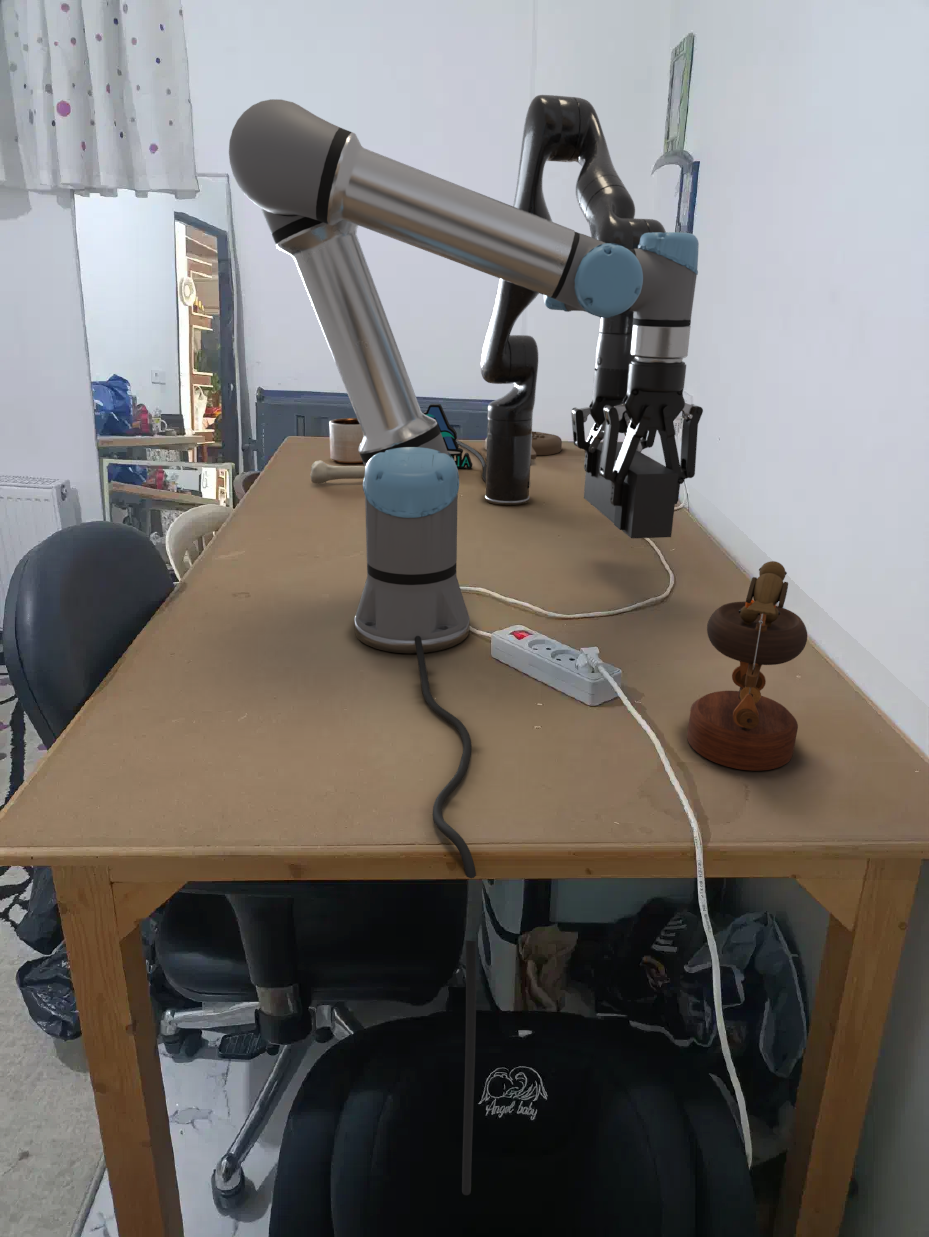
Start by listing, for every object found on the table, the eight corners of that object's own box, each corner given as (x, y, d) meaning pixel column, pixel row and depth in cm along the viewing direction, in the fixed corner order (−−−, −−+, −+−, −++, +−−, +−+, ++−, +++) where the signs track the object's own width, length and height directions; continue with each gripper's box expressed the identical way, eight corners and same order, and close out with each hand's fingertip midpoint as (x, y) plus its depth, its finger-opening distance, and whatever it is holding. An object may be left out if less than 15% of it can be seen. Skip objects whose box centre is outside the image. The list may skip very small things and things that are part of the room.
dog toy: (399, 478, 195) (399, 457, 193) (401, 484, 190) (401, 462, 188) (310, 480, 192) (309, 458, 190) (310, 486, 187) (309, 464, 185)
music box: (815, 783, 80) (835, 585, 73) (696, 783, 82) (704, 589, 74) (778, 707, 94) (791, 534, 87) (677, 708, 96) (682, 538, 88)
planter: (327, 456, 217) (325, 418, 214) (369, 454, 220) (368, 417, 217) (334, 465, 208) (332, 425, 204) (377, 463, 211) (376, 424, 207)
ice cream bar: (490, 464, 211) (490, 447, 209) (483, 443, 237) (483, 428, 235) (573, 465, 212) (575, 448, 210) (557, 444, 238) (558, 429, 236)
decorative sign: (472, 466, 209) (473, 404, 203) (471, 468, 206) (473, 406, 201) (396, 464, 210) (395, 402, 204) (394, 466, 207) (393, 404, 202)
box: (671, 537, 119) (678, 473, 115) (631, 538, 118) (637, 474, 114) (618, 497, 140) (622, 442, 136) (583, 498, 139) (587, 442, 135)
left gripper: (712, 357, 118) (692, 517, 127) (581, 356, 115) (570, 521, 124) (737, 362, 111) (714, 532, 120) (598, 362, 108) (585, 536, 117)
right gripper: (656, 362, 132) (645, 469, 138) (567, 362, 130) (560, 470, 136) (674, 367, 125) (662, 479, 131) (581, 367, 123) (573, 481, 129)
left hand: (641, 526), depth 122 cm, fingers closed on box, 6 cm apart
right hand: (610, 474), depth 134 cm, fingers closed on box, 6 cm apart
